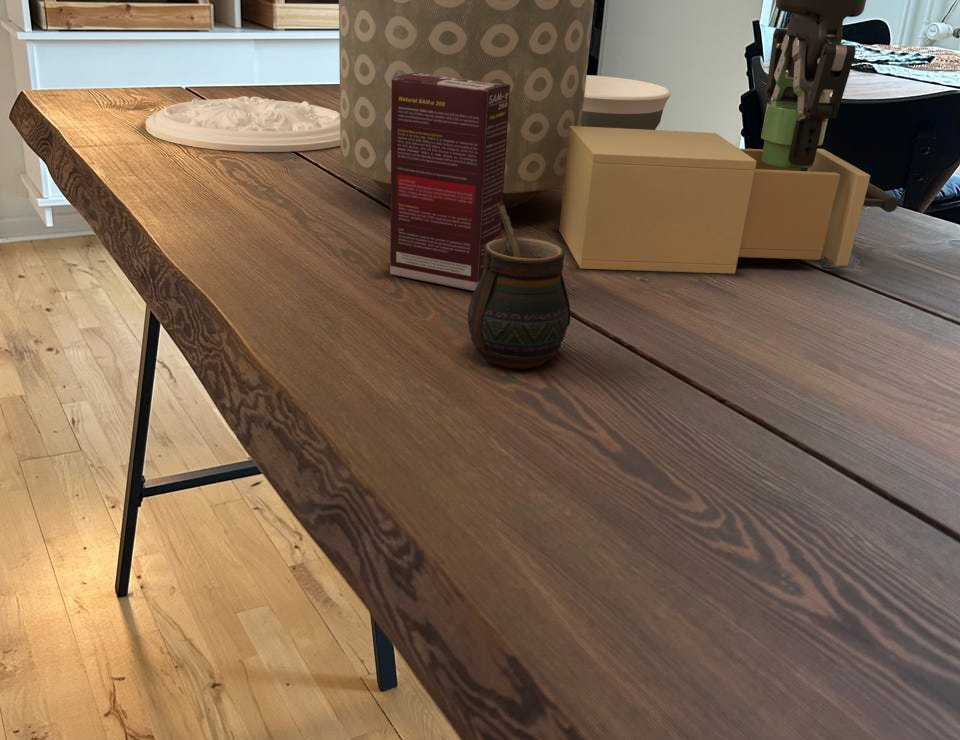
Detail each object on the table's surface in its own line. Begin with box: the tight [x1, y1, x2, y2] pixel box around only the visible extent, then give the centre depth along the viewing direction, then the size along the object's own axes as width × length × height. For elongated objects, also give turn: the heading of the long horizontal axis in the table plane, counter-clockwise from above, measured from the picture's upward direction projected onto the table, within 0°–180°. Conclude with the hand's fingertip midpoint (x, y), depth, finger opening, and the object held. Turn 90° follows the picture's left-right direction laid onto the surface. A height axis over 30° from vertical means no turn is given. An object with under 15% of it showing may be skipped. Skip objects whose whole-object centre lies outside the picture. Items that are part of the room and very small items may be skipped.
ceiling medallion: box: [145, 95, 340, 153], centre depth 138 cm, size 28×28×3 cm
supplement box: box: [389, 73, 510, 292], centre depth 85 cm, size 9×5×16 cm, turn 65°
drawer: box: [737, 147, 899, 267], centre depth 99 cm, size 18×11×8 cm, turn 95°
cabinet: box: [558, 126, 757, 275], centre depth 97 cm, size 15×13×10 cm
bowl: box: [581, 74, 672, 130], centre depth 139 cm, size 19×19×8 cm
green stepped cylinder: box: [760, 101, 829, 169], centre depth 95 cm, size 6×6×5 cm
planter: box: [338, 0, 595, 210], centre depth 105 cm, size 25×25×24 cm
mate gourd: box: [467, 204, 571, 370], centre depth 72 cm, size 7×8×10 cm
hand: (788, 156), depth 96 cm, fingers closed on green stepped cylinder, 5 cm apart
